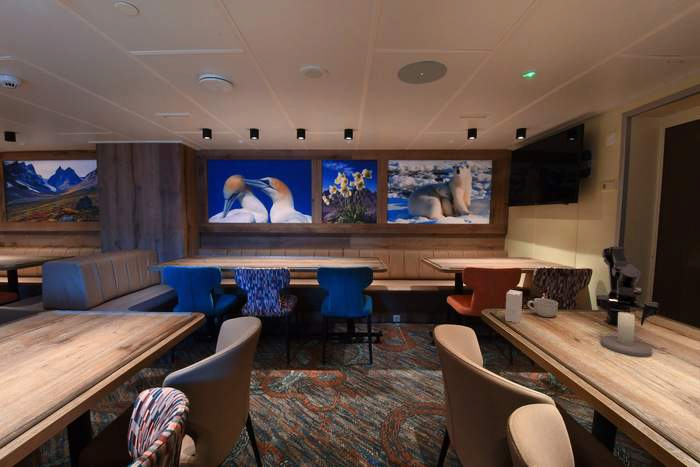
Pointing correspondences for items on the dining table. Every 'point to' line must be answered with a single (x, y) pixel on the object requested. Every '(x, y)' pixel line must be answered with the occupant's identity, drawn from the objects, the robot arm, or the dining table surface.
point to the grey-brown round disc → (626, 347)
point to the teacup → (544, 307)
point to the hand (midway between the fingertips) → (625, 322)
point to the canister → (625, 328)
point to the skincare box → (513, 306)
